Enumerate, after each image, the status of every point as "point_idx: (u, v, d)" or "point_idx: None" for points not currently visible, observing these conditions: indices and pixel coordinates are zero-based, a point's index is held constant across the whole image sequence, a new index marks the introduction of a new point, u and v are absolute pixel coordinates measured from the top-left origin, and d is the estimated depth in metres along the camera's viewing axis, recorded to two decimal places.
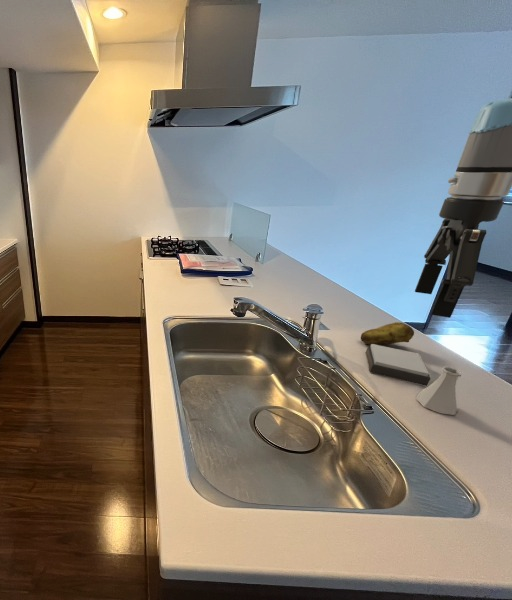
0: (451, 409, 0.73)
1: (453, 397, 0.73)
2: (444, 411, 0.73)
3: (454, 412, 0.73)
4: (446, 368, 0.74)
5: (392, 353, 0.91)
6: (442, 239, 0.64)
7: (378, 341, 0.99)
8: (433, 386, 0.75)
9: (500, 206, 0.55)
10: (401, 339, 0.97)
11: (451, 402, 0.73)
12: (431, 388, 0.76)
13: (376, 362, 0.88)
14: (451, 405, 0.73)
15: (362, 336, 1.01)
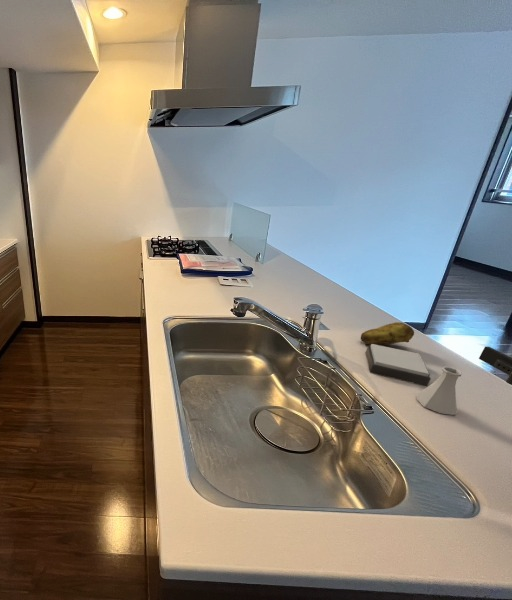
0: (451, 409, 0.73)
1: (453, 397, 0.73)
2: (444, 411, 0.73)
3: (454, 412, 0.73)
4: (446, 368, 0.74)
5: (392, 353, 0.91)
6: None
7: (378, 341, 0.99)
8: (433, 386, 0.75)
9: None
10: (401, 339, 0.97)
11: (451, 402, 0.73)
12: (431, 388, 0.76)
13: (376, 362, 0.88)
14: (451, 405, 0.73)
15: (362, 336, 1.01)
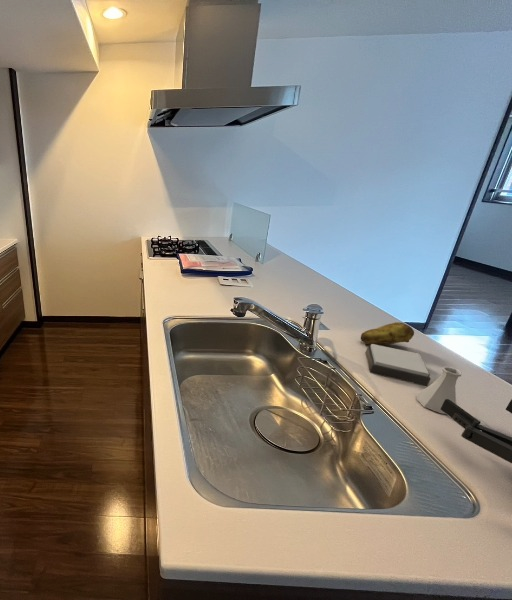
0: None
1: (453, 397, 0.73)
2: None
3: None
4: (446, 368, 0.74)
5: (392, 353, 0.91)
6: None
7: (378, 341, 0.99)
8: (433, 386, 0.75)
9: None
10: (401, 339, 0.97)
11: None
12: (431, 388, 0.76)
13: (376, 362, 0.88)
14: None
15: (362, 336, 1.01)
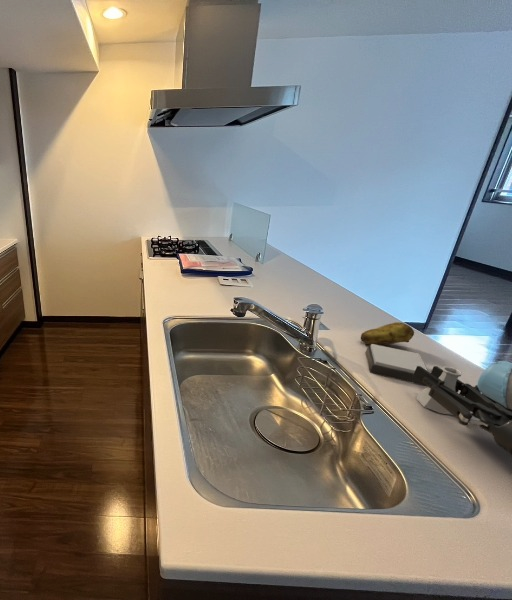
0: None
1: None
2: (444, 411, 0.73)
3: None
4: (446, 368, 0.74)
5: (392, 353, 0.91)
6: None
7: (378, 341, 0.99)
8: None
9: None
10: (401, 339, 0.97)
11: None
12: None
13: (376, 362, 0.88)
14: None
15: (362, 336, 1.01)
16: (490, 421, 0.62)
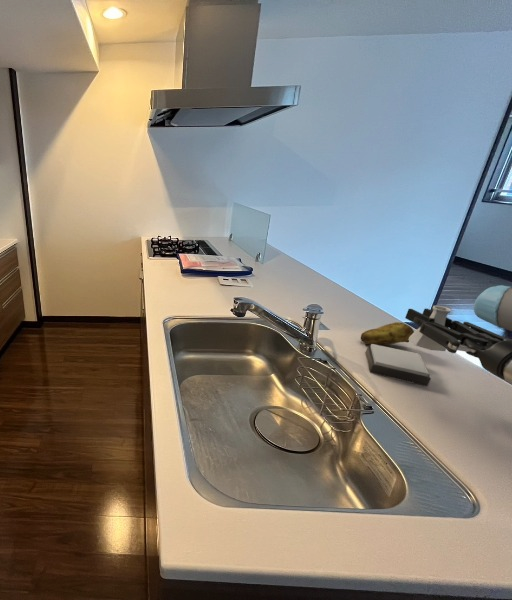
0: (441, 345, 0.76)
1: None
2: (434, 348, 0.77)
3: (444, 348, 0.76)
4: (436, 307, 0.77)
5: (392, 353, 0.91)
6: None
7: (378, 341, 0.99)
8: None
9: None
10: (401, 339, 0.97)
11: None
12: None
13: (376, 362, 0.88)
14: None
15: (362, 336, 1.01)
16: (477, 346, 0.65)
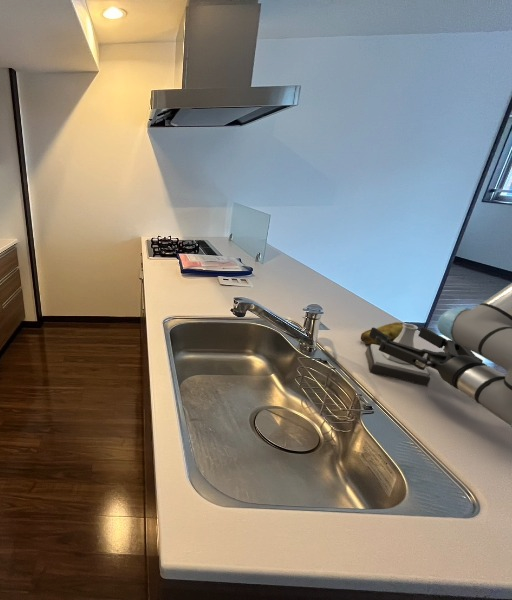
0: None
1: None
2: (404, 361, 0.86)
3: None
4: (406, 324, 0.86)
5: None
6: None
7: None
8: (395, 341, 0.88)
9: (483, 363, 0.70)
10: None
11: None
12: None
13: (376, 362, 0.88)
14: None
15: (362, 336, 1.01)
16: (439, 361, 0.74)
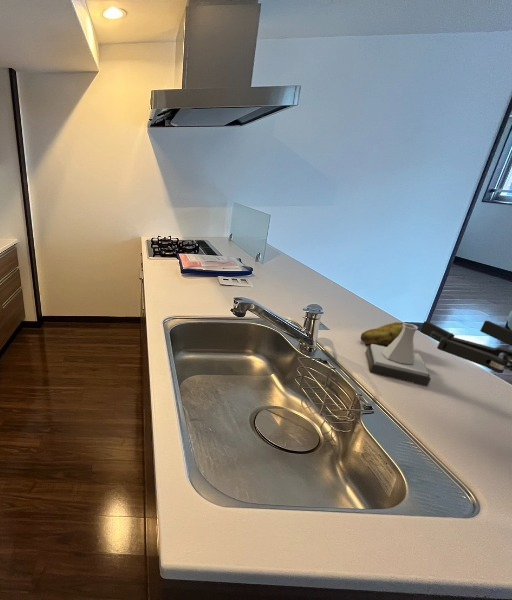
0: (409, 359, 0.86)
1: (411, 349, 0.85)
2: (404, 361, 0.86)
3: (412, 362, 0.86)
4: (405, 324, 0.86)
5: None
6: None
7: (378, 341, 0.99)
8: (395, 341, 0.88)
9: None
10: None
11: (410, 353, 0.86)
12: (393, 342, 0.88)
13: (376, 362, 0.88)
14: (410, 356, 0.86)
15: (362, 336, 1.01)
16: None
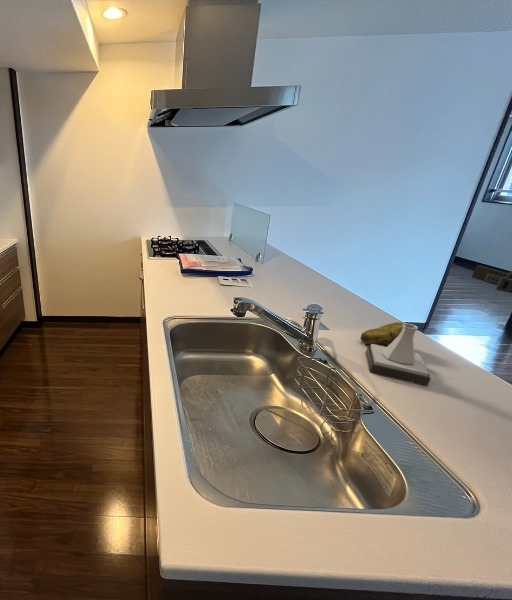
0: (409, 359, 0.86)
1: (411, 349, 0.85)
2: (404, 361, 0.86)
3: (412, 362, 0.86)
4: (405, 324, 0.86)
5: None
6: None
7: (378, 341, 0.99)
8: (395, 341, 0.88)
9: None
10: None
11: (410, 353, 0.86)
12: (393, 342, 0.88)
13: (376, 362, 0.88)
14: (410, 356, 0.86)
15: (362, 336, 1.01)
16: None
